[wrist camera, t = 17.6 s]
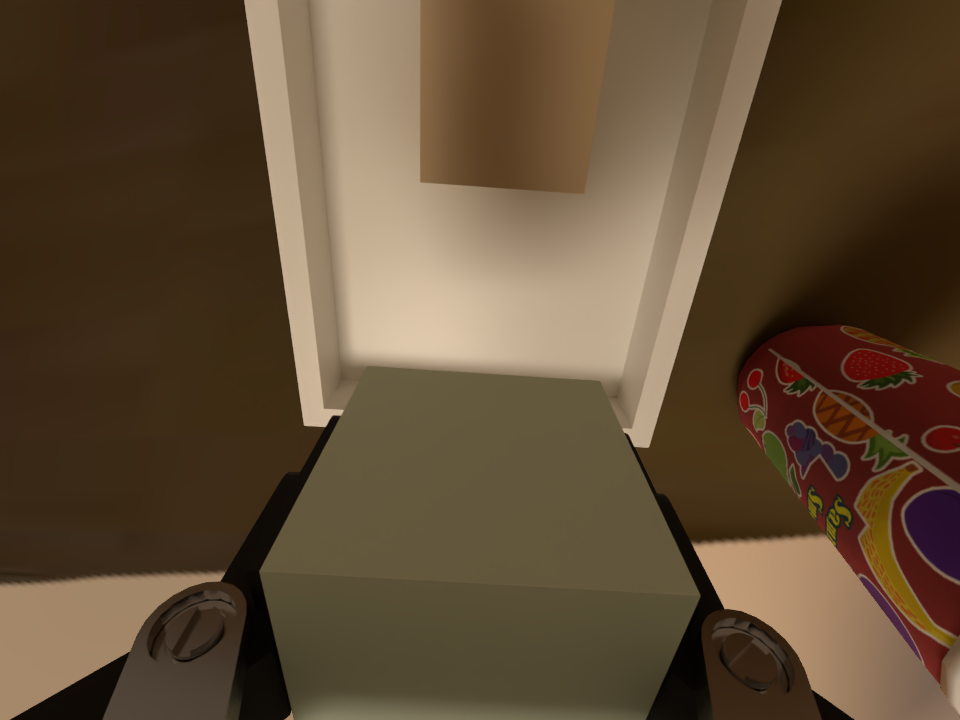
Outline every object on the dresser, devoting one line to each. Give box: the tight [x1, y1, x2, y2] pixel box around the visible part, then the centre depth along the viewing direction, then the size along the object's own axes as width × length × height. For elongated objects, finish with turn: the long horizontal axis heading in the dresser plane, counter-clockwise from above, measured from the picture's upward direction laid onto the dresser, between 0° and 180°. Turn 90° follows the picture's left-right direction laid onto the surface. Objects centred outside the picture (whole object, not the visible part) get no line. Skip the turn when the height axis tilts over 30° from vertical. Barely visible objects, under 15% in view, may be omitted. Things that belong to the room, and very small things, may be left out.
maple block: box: [420, 0, 615, 194], centre depth 14 cm, size 5×5×5 cm
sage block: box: [259, 366, 701, 720], centre depth 8 cm, size 5×5×5 cm
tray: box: [244, 0, 782, 448], centre depth 18 cm, size 16×19×4 cm
